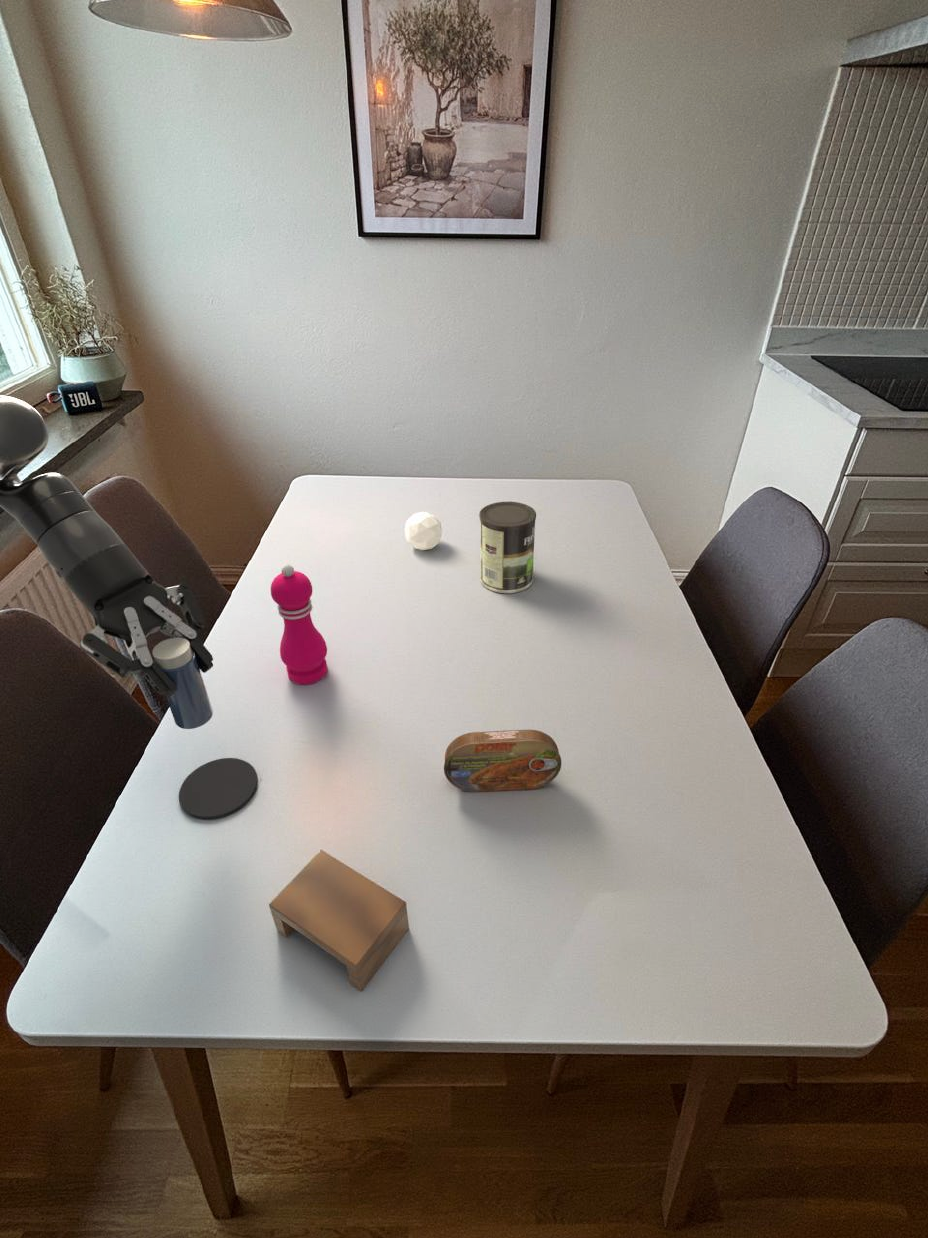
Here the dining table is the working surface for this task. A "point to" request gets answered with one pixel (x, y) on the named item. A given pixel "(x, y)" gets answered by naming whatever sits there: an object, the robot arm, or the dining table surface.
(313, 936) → the shelf
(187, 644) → the cylinder
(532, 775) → the tin
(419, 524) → the geometric ball
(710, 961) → the dining table surface
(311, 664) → the pepper mill
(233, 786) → the mat
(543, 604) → the dining table surface
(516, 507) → the coffee can
